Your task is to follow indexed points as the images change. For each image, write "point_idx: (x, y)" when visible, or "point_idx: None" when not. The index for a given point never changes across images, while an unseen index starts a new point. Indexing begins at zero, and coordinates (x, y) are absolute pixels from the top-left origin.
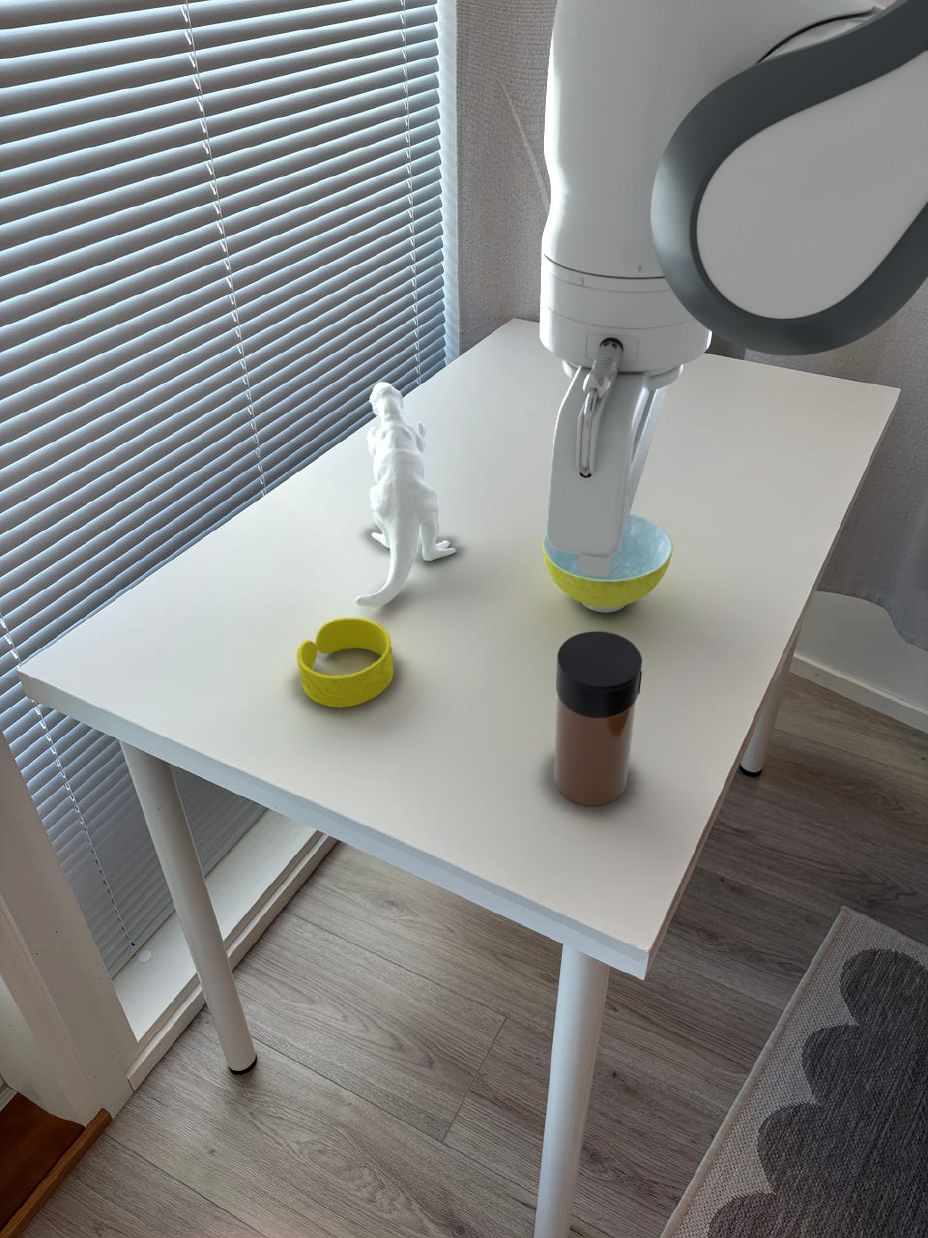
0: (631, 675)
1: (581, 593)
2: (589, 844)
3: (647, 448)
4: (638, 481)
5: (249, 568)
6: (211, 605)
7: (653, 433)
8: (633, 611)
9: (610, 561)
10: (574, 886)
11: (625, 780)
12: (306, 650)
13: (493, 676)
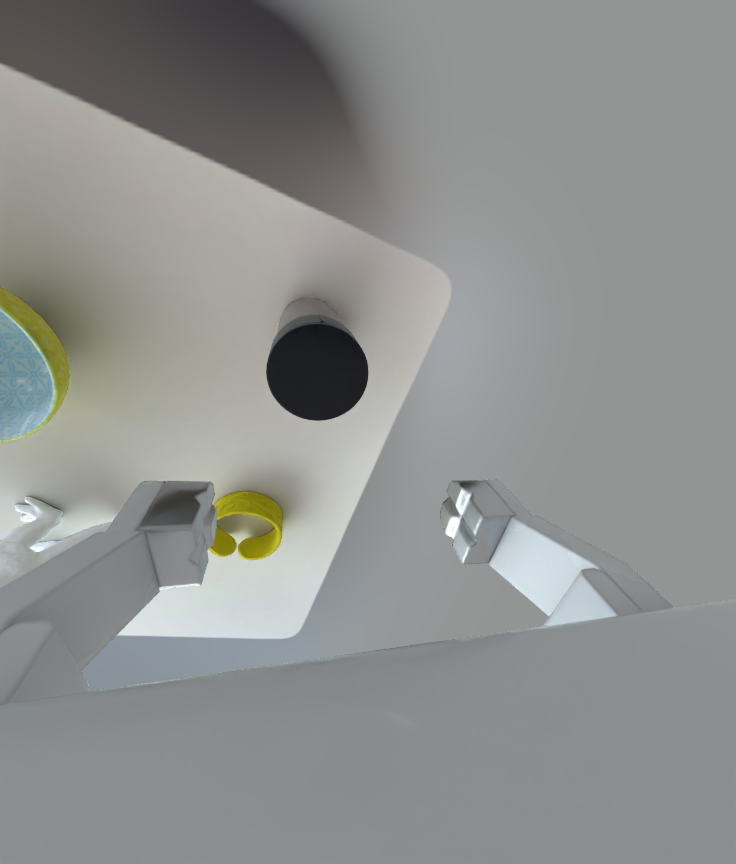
0: (344, 335)
1: (68, 376)
2: (377, 325)
3: (451, 770)
4: (661, 679)
5: (153, 606)
6: (206, 605)
7: (144, 766)
8: (20, 297)
9: (516, 499)
10: (414, 333)
11: (318, 300)
12: (249, 553)
13: (209, 425)
